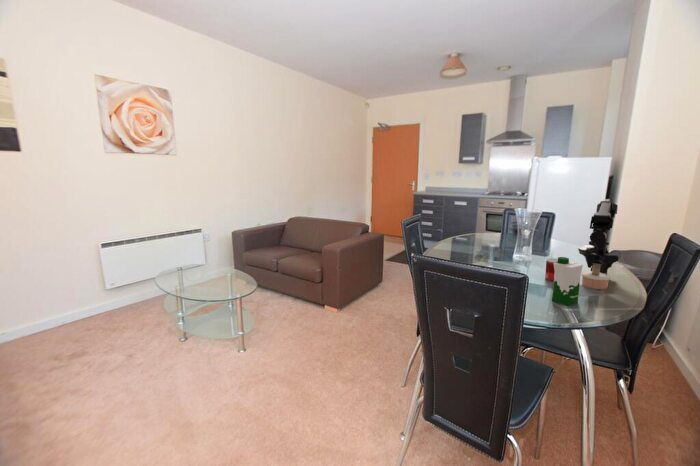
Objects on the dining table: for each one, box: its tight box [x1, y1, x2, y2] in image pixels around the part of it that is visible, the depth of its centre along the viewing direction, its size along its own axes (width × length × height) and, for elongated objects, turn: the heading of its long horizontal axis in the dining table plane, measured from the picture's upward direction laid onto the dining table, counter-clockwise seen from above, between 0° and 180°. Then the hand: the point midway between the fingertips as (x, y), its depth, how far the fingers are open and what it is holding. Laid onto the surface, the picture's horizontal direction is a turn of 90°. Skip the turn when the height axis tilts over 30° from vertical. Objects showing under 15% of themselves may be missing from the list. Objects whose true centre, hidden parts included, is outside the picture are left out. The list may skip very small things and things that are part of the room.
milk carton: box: [551, 256, 584, 307], centre depth 135 cm, size 9×9×20 cm
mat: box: [578, 284, 609, 297], centre depth 149 cm, size 14×14×1 cm
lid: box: [581, 264, 611, 280], centre depth 153 cm, size 11×11×6 cm
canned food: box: [544, 258, 558, 283], centre depth 164 cm, size 8×8×11 cm
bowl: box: [581, 275, 610, 290], centre depth 154 cm, size 10×10×5 cm
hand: (596, 270), depth 153 cm, fingers open, 9 cm apart
